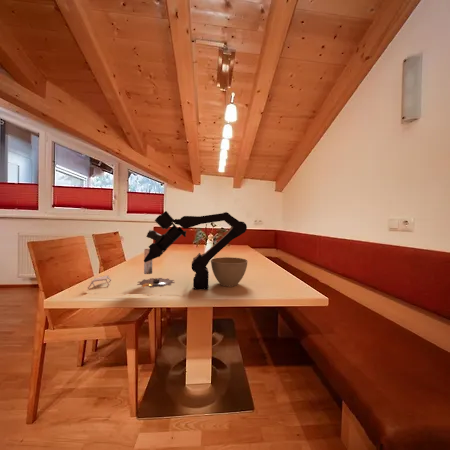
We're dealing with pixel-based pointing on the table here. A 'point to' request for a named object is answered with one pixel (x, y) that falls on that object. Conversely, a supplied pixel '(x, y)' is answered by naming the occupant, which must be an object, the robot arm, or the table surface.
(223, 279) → the flower pot
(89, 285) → the origami figure
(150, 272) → the drive pin
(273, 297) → the table surface
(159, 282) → the sprocket plate
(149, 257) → the robot arm
